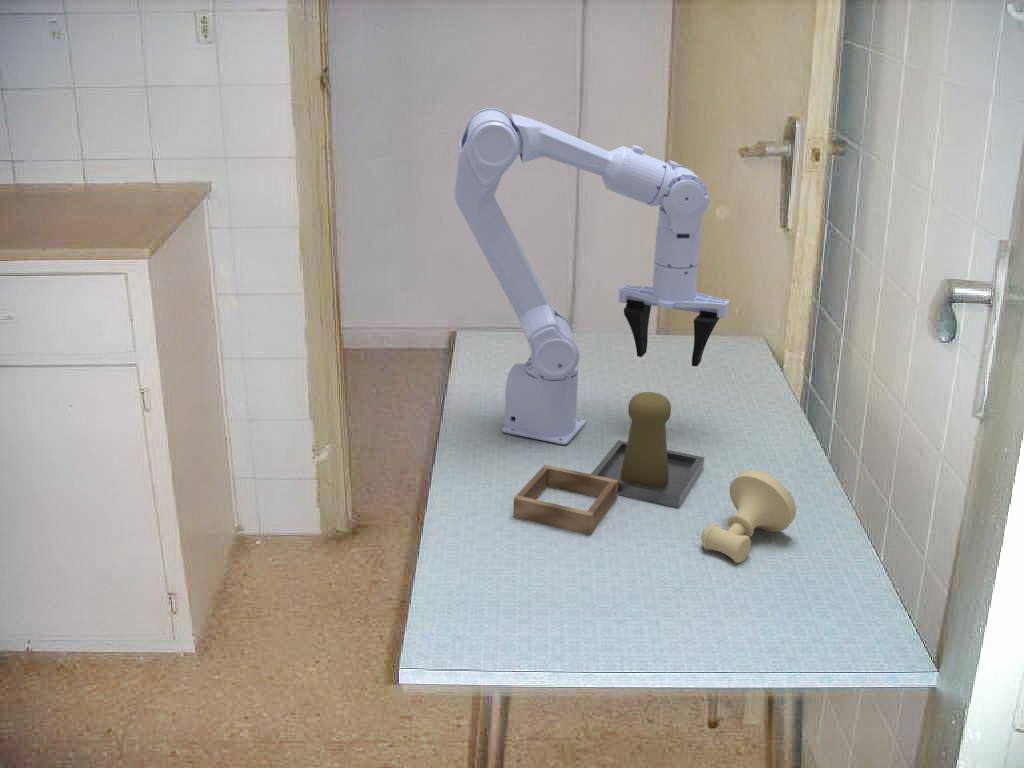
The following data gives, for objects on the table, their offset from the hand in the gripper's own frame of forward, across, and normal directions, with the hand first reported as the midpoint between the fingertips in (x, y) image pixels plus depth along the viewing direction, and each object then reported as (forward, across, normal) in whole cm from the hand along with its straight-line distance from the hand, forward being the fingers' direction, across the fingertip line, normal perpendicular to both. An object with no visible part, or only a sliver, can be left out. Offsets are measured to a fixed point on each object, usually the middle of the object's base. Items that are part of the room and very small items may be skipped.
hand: (668, 359), depth 147 cm
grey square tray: (+10, +2, -15) cm, 19 cm away
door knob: (+11, +17, -25) cm, 32 cm away
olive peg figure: (+10, +3, -16) cm, 19 cm away
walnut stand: (+10, -4, -27) cm, 29 cm away
